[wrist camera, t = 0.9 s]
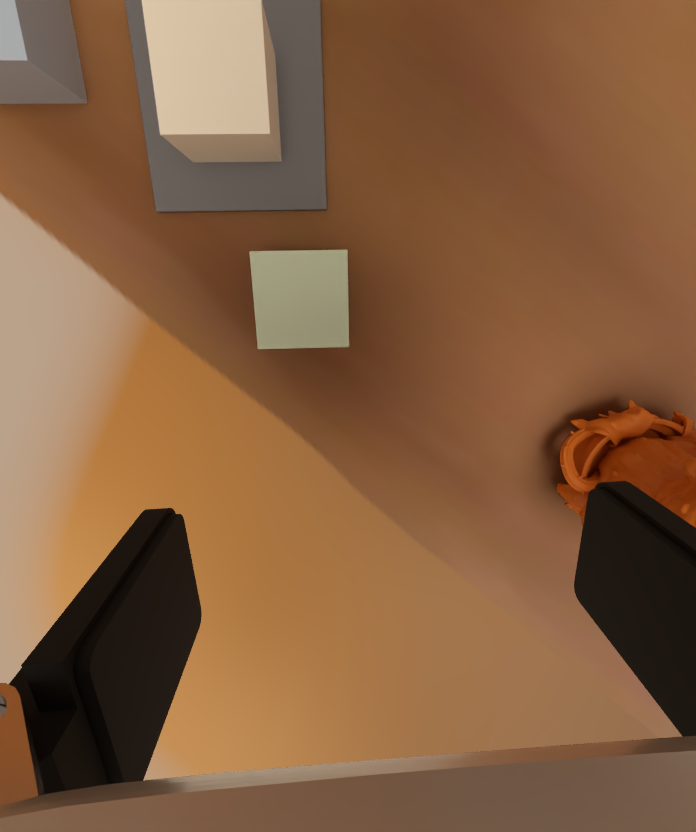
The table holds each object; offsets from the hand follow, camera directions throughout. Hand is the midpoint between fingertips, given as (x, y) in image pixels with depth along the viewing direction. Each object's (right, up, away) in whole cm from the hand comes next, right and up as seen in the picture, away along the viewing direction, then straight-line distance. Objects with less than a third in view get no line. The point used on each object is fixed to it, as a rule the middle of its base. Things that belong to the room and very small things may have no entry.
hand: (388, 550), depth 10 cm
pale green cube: (-4, +11, +17) cm, 21 cm away
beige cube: (-7, +20, +14) cm, 25 cm away
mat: (-7, +20, +14) cm, 26 cm away
